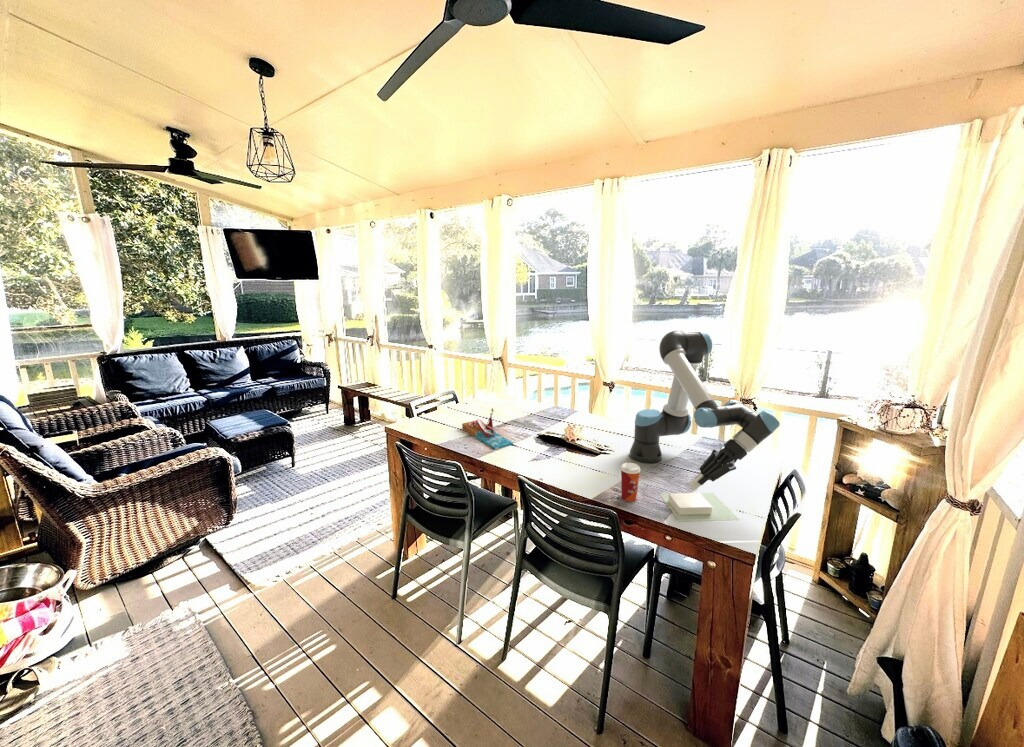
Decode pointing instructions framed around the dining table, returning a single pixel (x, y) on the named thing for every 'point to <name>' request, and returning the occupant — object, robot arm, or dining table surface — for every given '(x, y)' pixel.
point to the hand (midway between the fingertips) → (691, 487)
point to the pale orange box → (689, 504)
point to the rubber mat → (718, 513)
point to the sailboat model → (486, 433)
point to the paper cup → (629, 481)
